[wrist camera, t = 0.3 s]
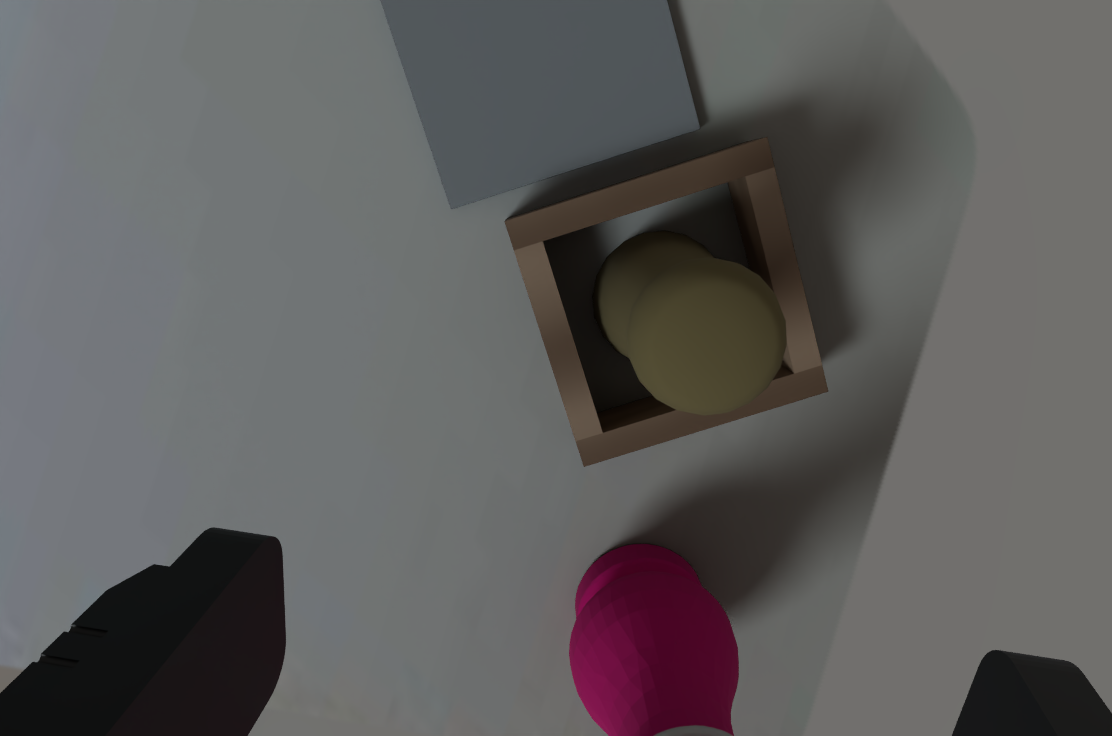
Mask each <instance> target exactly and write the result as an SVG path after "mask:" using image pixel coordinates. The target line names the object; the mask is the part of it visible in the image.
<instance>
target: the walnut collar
mask: <svg viewBox="0 0 1112 736" xmlns="http://www.w3.org/2000/svg"><path fill="white" fill-rule="evenodd" d="M727 182H728V186H729V190H730V194H731V198H732V201H733V205H734V209H735V213H736V217H737V221H738V225H739V229H740V233H741V237H742V241H743V245H744V249H745V252H746V256H747V260H748V264H749V268H750V270H751V271H752V272H754V273H756V274H757V275H759V276H760V277H761V278H762V279H763V280H764V281H765V283H766V284H767V285H768V286H769V287H770V288H771V290H772V291H773V292H774V293H775V294H776V297H777V299H778V302H779V305H780V307H781V310H782V312H783V315H784V317H785V320H786V336H787V346H786V349H785V353H784V357H783V360H782V364H781V368H780V369H779V371H778V372H777V374H776V375H775V377H774V378H773V380H772V382H771V383H770V385H769V386H768V388H767V389H765V390H764V391H763V392H762V393H761V394H760V395H758V396H757V397H756V398H755V399H754V400H753V401H751V402H750V403H749V404H747V405H744V406H742V407H740V408H737V409H735V410H733V411H731V412H728V413H722V414H713V415H705V416H704V415H698V414H693V413H688V412H683V411H678V410H675V409H673V408H672V407H670V406H668V405H666V404H664V403H663V402H661V401H659V400H657V399H656V398H655V397H654V396H650V397H647V398H644V399H641V400H637V401H634V402H631V403H628V404H625V405H621V406H618V407H615V408H612V409H608V410H605V411H602V412H599V413H597V412H596V409H595V406H594V403H593V400H592V396H591V393H590V390H589V387H588V384H587V380H586V377H585V374H584V371H583V368H582V364H581V361H580V358H579V355H578V352H577V349H576V345H575V342H574V339H573V336H572V333H571V329H570V326H569V323H568V320H567V317H566V314H565V310H564V307H563V304H562V301H561V298H560V294H559V291H558V288H557V285H556V282H555V279H554V275H553V272H552V269H551V266H550V263H549V259H548V256H547V253H546V250H545V247H544V243H543V241H545V240H548V239H551V238H555V237H558V236H561V235H564V234H567V233H570V232H573V231H576V230H580V229H583V228H586V227H589V226H592V225H595V224H598V223H601V222H605V221H608V220H611V219H614V218H617V217H620V216H623V215H627V214H630V213H633V212H636V211H639V210H642V209H645V208H648V207H652V206H655V205H658V204H661V203H664V202H667V201H670V200H673V199H677V198H680V197H683V196H686V195H689V194H692V193H695V192H698V191H702V190H705V189H708V188H711V187H714V186H717V185H720V184H723V183H727ZM505 224H506V227H507V230H508V234H509V237H510V240H511V243H512V246H513V249H514V252H515V255H516V258H517V261H518V264H519V268H520V271H521V274H522V277H523V280H524V283H525V286H526V289H527V292H528V295H529V298H530V302H531V305H532V308H533V311H534V314H535V317H536V320H537V323H538V326H539V329H540V332H541V336H542V339H543V342H544V345H545V348H546V351H547V354H548V357H549V360H550V363H551V367H552V370H553V373H554V376H555V379H556V382H557V385H558V388H559V391H560V394H561V397H562V401H563V404H564V407H565V410H566V413H567V416H568V419H569V422H570V425H571V428H572V431H573V435H574V438H575V441H576V444H577V447H578V450H579V453H580V456H581V459H582V462H583V465H584V467H585V466H588V465H591V464H595V463H598V462H601V461H604V460H608V459H611V458H614V457H617V456H621V455H624V454H627V453H630V452H634V451H637V450H640V449H643V448H647V447H650V446H653V445H656V444H660V443H663V442H666V441H669V440H673V439H676V438H679V437H682V436H686V435H689V434H692V433H695V432H698V431H702V430H705V429H708V428H711V427H715V426H718V425H721V424H724V423H728V422H731V421H734V420H737V419H741V418H744V417H747V416H750V415H754V414H757V413H760V412H763V411H767V410H770V409H773V408H776V407H780V406H783V405H786V404H789V403H793V402H796V401H799V400H802V399H806V398H809V397H812V396H815V395H819V394H822V393H825V392H828V388H827V383H826V379H825V375H824V371H823V367H822V363H821V358H820V354H819V350H818V346H817V342H816V338H815V333H814V329H813V325H812V321H811V317H810V313H809V308H808V304H807V300H806V296H805V292H804V288H803V283H802V279H801V275H800V271H799V267H798V263H797V258H796V254H795V250H794V246H793V242H792V238H791V233H790V229H789V225H788V221H787V217H786V213H785V208H784V204H783V200H782V196H781V192H780V188H779V183H778V179H777V175H776V171H775V167H774V163H773V158H772V154H771V150H770V146H769V142H768V138H767V137H765V138H760V139H756V140H752V141H747V142H744V143H741V144H738V145H735V146H731V147H728V148H725V149H722V150H719V151H716V152H713V153H710V154H707V155H703V156H700V157H697V158H694V159H691V160H688V161H685V162H682V163H679V164H675V165H672V166H669V167H666V168H663V169H660V170H657V171H654V172H651V173H647V174H644V175H641V176H638V177H635V178H632V179H629V180H626V181H623V182H619V183H616V184H613V185H610V186H607V187H604V188H601V189H598V190H595V191H591V192H588V193H585V194H582V195H579V196H576V197H573V198H570V199H567V200H563V201H560V202H557V203H554V204H551V205H548V206H545V207H542V208H539V209H535V210H532V211H529V212H526V213H523V214H520V215H517V216H514V217H511V218H507V219H506V220H505Z"/></svg>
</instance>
